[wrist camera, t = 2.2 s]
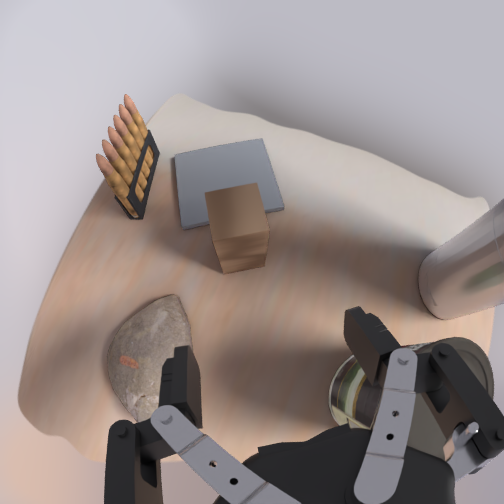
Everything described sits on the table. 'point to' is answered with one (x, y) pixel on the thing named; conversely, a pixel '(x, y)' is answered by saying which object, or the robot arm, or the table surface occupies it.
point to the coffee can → (423, 422)
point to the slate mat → (223, 177)
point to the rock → (146, 353)
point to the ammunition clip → (129, 160)
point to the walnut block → (238, 227)
